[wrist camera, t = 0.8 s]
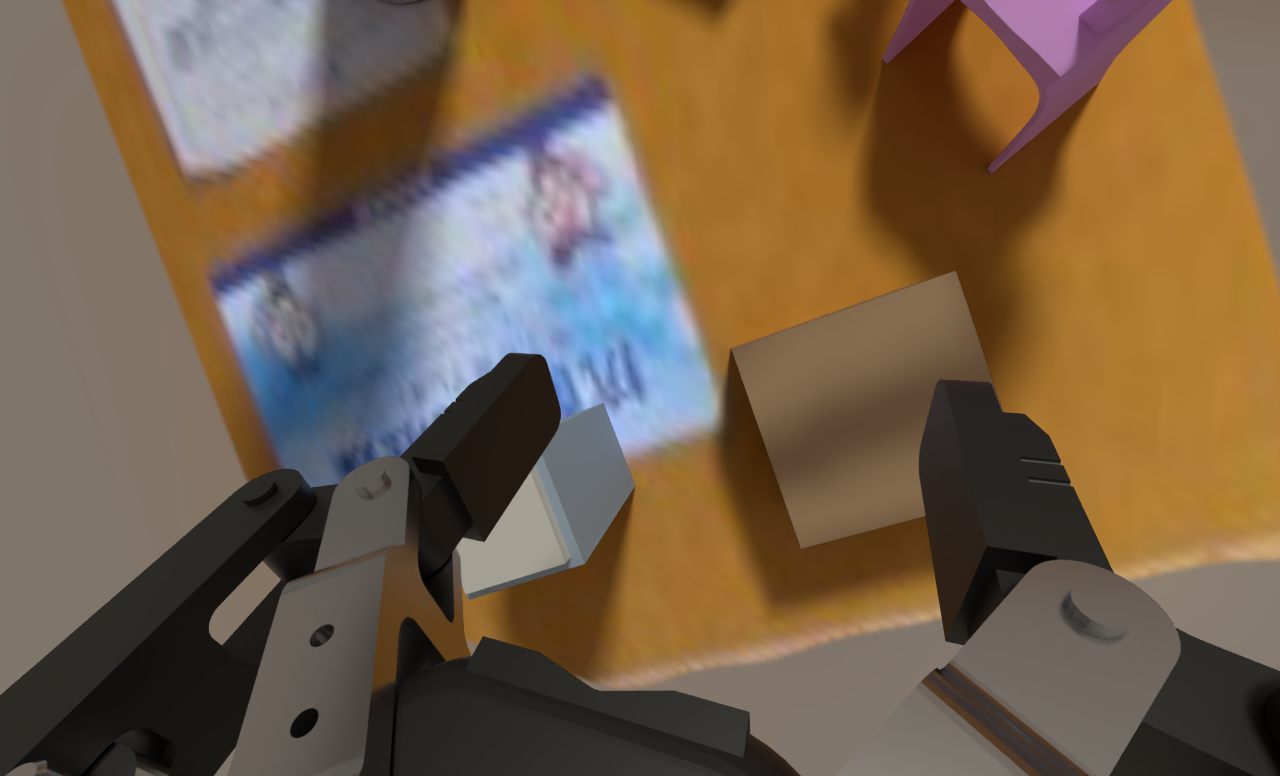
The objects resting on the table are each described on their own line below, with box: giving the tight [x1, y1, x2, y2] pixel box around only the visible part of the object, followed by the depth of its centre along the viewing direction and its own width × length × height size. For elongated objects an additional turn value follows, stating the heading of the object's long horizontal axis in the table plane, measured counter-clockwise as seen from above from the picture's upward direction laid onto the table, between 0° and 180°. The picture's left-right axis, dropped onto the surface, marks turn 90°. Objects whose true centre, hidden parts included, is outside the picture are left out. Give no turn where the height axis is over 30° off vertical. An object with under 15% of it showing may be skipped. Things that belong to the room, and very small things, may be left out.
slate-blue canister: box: [456, 403, 635, 600], centre depth 25 cm, size 6×6×12 cm
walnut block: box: [731, 271, 1003, 549], centre depth 25 cm, size 10×10×6 cm
